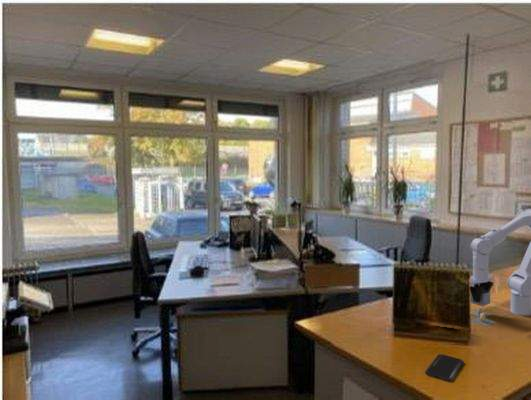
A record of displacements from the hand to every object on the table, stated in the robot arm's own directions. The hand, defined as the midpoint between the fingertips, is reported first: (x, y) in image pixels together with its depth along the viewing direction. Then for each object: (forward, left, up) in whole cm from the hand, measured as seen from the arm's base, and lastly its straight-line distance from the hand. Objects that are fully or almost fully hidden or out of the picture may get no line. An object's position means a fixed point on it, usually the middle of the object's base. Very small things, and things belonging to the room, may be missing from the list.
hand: (480, 300), depth 169 cm
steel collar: (0, 0, -1) cm, 1 cm away
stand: (0, 0, -7) cm, 7 cm away
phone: (+51, +17, -7) cm, 54 cm away
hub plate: (+7, +5, -7) cm, 11 cm away
